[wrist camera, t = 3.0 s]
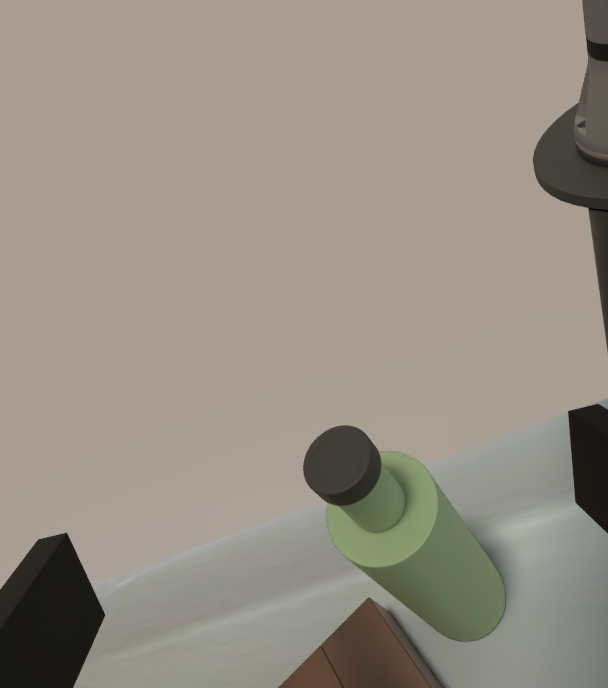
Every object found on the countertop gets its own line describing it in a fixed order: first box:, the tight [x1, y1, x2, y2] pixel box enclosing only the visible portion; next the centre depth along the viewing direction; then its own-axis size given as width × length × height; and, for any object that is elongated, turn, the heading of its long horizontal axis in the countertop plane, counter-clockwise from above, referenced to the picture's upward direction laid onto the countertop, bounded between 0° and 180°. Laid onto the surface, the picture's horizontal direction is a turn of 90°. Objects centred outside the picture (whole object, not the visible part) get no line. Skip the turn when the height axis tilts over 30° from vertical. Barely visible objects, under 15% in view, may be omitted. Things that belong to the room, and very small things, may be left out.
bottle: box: [303, 425, 505, 641], centre depth 21 cm, size 5×5×16 cm
